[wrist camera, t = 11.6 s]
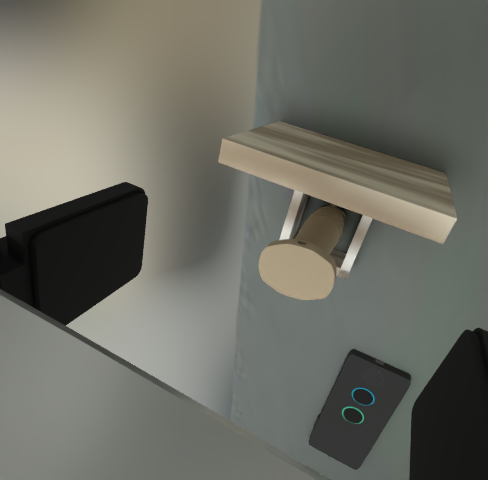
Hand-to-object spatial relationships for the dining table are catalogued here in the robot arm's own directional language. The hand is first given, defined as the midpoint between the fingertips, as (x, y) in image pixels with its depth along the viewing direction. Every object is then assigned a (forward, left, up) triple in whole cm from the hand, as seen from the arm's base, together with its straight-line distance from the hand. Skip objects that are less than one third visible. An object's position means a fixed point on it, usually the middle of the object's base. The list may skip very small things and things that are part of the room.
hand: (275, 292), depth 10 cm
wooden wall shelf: (+8, -2, -32) cm, 33 cm away
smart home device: (+36, +11, -33) cm, 50 cm away
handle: (+10, -2, -32) cm, 34 cm away
